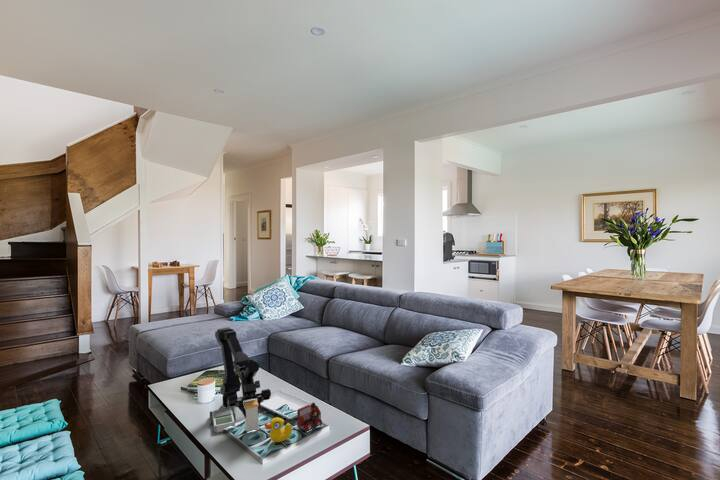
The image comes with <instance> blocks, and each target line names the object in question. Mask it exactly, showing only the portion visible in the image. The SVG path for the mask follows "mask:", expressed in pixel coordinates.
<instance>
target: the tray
mask: <svg viewBox="0 0 720 480" xmlns="http://www.w3.org/2000/svg"><path fill="white" fill-rule="evenodd" d="M252 400H257V398H256V399H252ZM311 403H312V402H311V401H308V400H305V399H303V398H300V397H299V396H296V395H293V394H291V393H288V392H286V391H283V390H282V389H279V388H277V389H274V390H272V391H271V396H270V399H268V400H263V402H261V404H260V407H262V408H265V409H266V410H268V411H271V412H273V413H275V414H276V415H279V416H281V417H283V418H285V419H286V420H289V419H291V420H294V419H295V417H296V418H298V417H297V416H298V415H297V414H296V415H294V416H292V417H288V416H286V415H284V414H282V413H281V412H279V411H276V410H274V409H275V408H277V407H279V406H282V405H284V404H287V405H288V407H289V409H293V410H298V409H300V408H302V407H304V406H307V405H311ZM293 418H294V419H293Z"/></svg>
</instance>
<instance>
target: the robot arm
mask: <svg viewBox="0 0 720 480" xmlns="http://www.w3.org/2000/svg"><path fill="white" fill-rule="evenodd" d="M214 337H215V339H216V342H217V344H219V345H220V348H221V349H220V350H221V355H222V363H223V368H224V376H223V379H222V385H221V387H220V388H219V391H220V395H222V396H221V397H222V406H223V408H232V407H235V408H238V410H240V412H241V413H242V415H243V417H244V419H245V418H246V412H245V406H244V402H246V401H252V400H253V399H256V398H257V402H258V404H259V407H258V416H259V414H260V408H261V406H260V404H261V402H263V400H268V399H270V396H271V392H272V391H271V389H270V388H267V389H266V388H265V389H262V390H260V391H261V392H259V393H257V389H260V388H261V381H260V380H254V377H256V375H257V373H258V371H259V370H260V364H259V363H258V362H257V361H255V360H253V359H252V358H251V359H250V357H249V355H248V354H247V353H245V352H244V351H243V349H242V347H241V344H240V342H239V340H238V337H237V331H235V329H234V328H231V327H223V328H218V329H217V330H216V331H215V333H214ZM237 373H240V375H239V374H237ZM240 390H241V391H242V392H241V393H242V394H241V395H242V396H238V392H240Z"/></svg>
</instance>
